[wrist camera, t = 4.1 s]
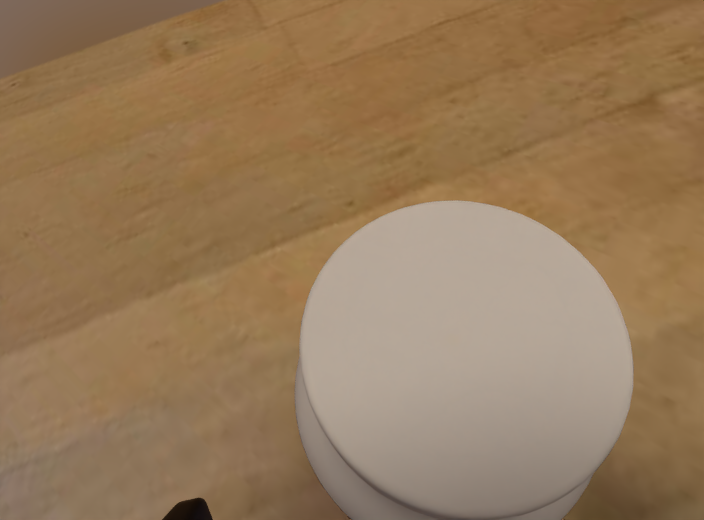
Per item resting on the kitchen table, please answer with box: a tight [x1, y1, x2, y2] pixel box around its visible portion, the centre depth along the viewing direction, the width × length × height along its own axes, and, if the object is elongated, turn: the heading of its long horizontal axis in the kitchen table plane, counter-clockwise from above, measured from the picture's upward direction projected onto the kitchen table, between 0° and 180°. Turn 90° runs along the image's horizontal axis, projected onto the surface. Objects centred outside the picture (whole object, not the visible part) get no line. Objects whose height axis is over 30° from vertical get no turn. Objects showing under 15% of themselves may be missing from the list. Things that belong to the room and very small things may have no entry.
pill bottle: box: [295, 201, 634, 520], centre depth 12 cm, size 6×6×11 cm
